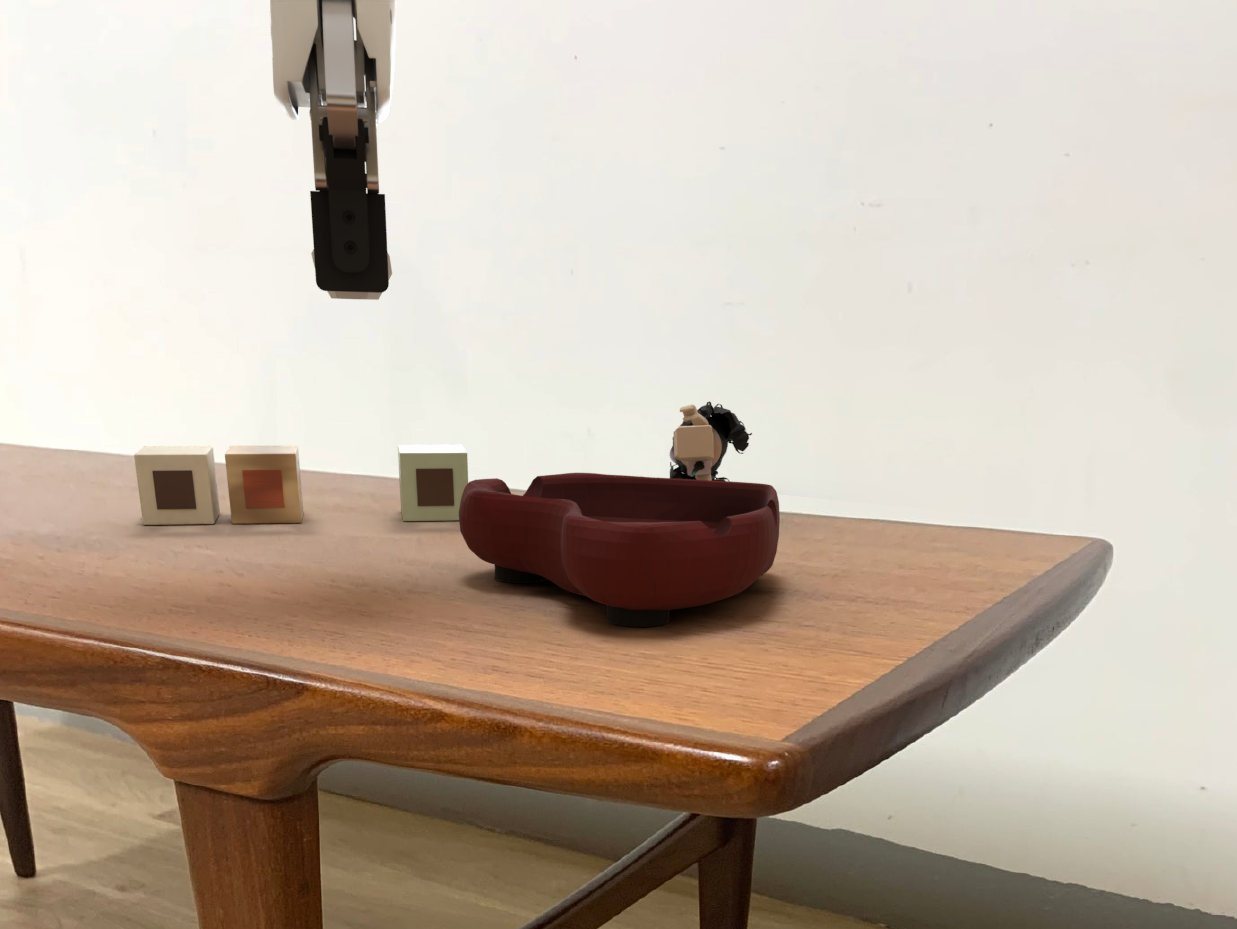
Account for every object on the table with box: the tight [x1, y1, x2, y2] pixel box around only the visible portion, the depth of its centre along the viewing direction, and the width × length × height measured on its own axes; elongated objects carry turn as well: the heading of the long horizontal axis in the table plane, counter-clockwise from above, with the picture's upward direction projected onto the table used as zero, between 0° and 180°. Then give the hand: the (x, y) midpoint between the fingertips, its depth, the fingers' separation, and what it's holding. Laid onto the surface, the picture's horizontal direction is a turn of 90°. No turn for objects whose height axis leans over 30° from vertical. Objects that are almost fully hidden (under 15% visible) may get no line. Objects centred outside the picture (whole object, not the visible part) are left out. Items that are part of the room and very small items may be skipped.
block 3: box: [397, 444, 469, 522], centre depth 90 cm, size 4×4×4 cm
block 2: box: [224, 445, 304, 525], centre depth 88 cm, size 4×4×4 cm
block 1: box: [133, 445, 221, 526], centre depth 87 cm, size 4×4×4 cm
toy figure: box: [669, 401, 753, 482], centre depth 96 cm, size 7×6×15 cm
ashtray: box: [459, 472, 781, 628], centre depth 70 cm, size 18×16×5 cm
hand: (353, 286), depth 62 cm, fingers closed on game die, 3 cm apart
